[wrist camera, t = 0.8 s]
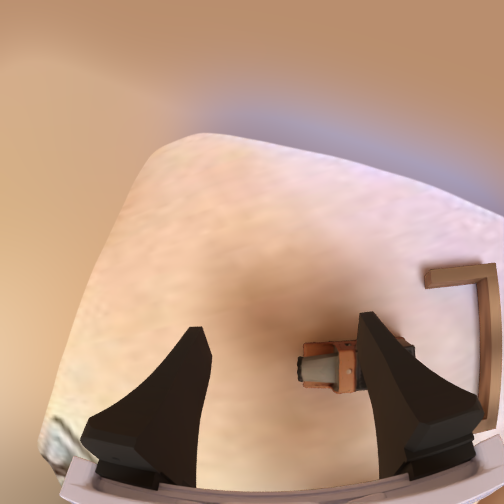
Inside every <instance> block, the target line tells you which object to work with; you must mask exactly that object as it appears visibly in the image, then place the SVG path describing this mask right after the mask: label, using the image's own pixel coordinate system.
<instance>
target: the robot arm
mask: <svg viewBox="0 0 504 504" xmlns="http://www.w3.org/2000/svg"><path fill="white" fill-rule="evenodd" d="M356 345H357V351H358V356H359V362H360V366H361V369H362V373H363V376H364V379H365V383H366V386H367V389H368V393H369V396H370V400H371V404H372V408H373V414H374V420H375V427H376V436H377V445H378V457H379V480H375V481H370V482H365V483H359V484H353V485H347V486H340V487H332V488H323V489H313V490H301V491H281V492H242V491H223V490H210V489H200V488H196V463H197V446H198V434H199V425H200V418H201V413H202V408H203V404H204V400H205V396H206V392H207V387H208V383H209V379H210V374H211V364H212V354H211V351H210V348H209V345H208V342H207V339H206V337H205V334H204V331H203V328H202V327H189V329H188V330H187V331H186V332H185V334H184V335H183V336H182V338H181V339H180V340H179V342H178V343H177V344H176V346H175V347H174V348H173V349H172V351H171V352H170V353H169V354H168V356H167V357H166V358H165V359H164V360H163V362H162V363H161V364H160V365H159V366H158V367H157V368H156V369H155V371H154V372H153V373H152V374H151V375H150V376H149V377H148V378H147V379H146V380H145V381H144V382H143V383H141V384H140V385H139V386H138V387H137V388H136V389H134V390H133V391H132V392H131V393H129V394H128V395H127V396H125V397H124V398H123V399H121V400H120V401H118V402H117V403H115V404H114V405H112V406H111V407H109V408H107V409H105V410H104V411H102V412H100V413H98V414H96V415H94V416H92V417H90V418H89V419H88V422H87V424H86V426H85V429H84V431H83V433H82V436H81V438H80V441H81V443H82V445H83V446H84V447H85V448H86V449H87V450H89V451H90V452H91V453H92V454H93V455H95V456H96V457H97V458H98V459H99V462H98V464H96V463H94V462H92V461H89V460H86V459H83V458H80V457H77V456H73V459H72V461H71V464H70V467H69V469H68V472H67V475H66V477H65V480H64V483H63V486H62V489H61V491H60V494H59V495H60V497H62V498H64V499H65V500H68V501H69V502H71V503H73V504H472V503H474V502H476V501H478V500H480V499H482V498H484V497H486V496H488V495H490V494H491V493H493V492H494V491H496V490H497V489H499V488H500V487H502V486H503V485H504V445H503V442H502V440H501V437H500V435H499V434H497V435H495V436H493V437H491V438H489V439H486V440H484V441H482V442H480V443H478V444H476V445H475V446H473V443H472V441H473V440H474V435H473V433H472V432H473V430H474V429H475V428H476V427H477V426H478V424H479V423H480V422H481V420H482V419H483V417H484V410H483V408H482V405H481V403H480V401H479V399H478V398H477V396H476V395H475V394H472V393H470V392H468V391H466V390H463V389H461V388H459V387H457V386H455V385H454V384H452V383H450V382H448V381H446V380H445V379H443V378H442V377H440V376H439V375H437V374H436V373H434V372H433V371H431V370H430V369H429V368H427V367H426V366H425V365H423V364H422V363H421V362H420V361H419V360H417V359H416V358H415V357H414V356H413V355H412V354H411V353H410V352H409V351H408V350H407V349H406V348H405V347H404V346H403V345H402V344H401V343H400V342H399V341H398V340H397V339H396V338H395V337H394V336H393V335H392V334H391V332H390V331H389V330H388V329H387V328H386V327H385V325H384V324H383V323H382V322H381V321H380V319H379V318H378V317H377V316H376V314H375V313H374V312H373V311H372V312H364V313H360V315H359V325H358V335H357V344H356Z"/></svg>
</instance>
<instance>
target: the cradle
mask: <svg viewBox="0 0 504 504" xmlns="http://www.w3.org/2000/svg"><path fill="white" fill-rule="evenodd" d="M424 279H425V289H431V288H440V287H449V286H458V285H466V284H475V283H477V293H478V305H479V321H480V378H479V393H478V399H479V401H480V403H481V405H482V408H483V410H484V417H483V419H482V420H481V422H480V423H479V424H478V426H477V427H476V428H475V429H474V430H473V432H472V433H473V434H476V433H480V432H484V431H488V430H492V429H496V424H497V417H498V409H499V400H500V389H501V373H502V322H501V306H500V294H499V285H498V277H497V269H496V263H488V264H480V265H471V266H462V267H452V268H442V269H432V270H430V271H429V272H428V273H427V274H426V275H425V277H424Z"/></svg>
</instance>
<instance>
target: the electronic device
mask: <svg viewBox="0 0 504 504" xmlns="http://www.w3.org/2000/svg"><path fill="white" fill-rule="evenodd" d="M396 339H397V340H398V341H399V342H400V343H401V344H402V345H403V346H404V347H405V348H406V349H407V350H408V351H409V352H410V353H411V354H412V355H413V356H414V357H415V347H414V345H411V344H410V343H408V342H407V341H406V340H405V339H404V338H403V337H396ZM356 344H357V340H352V341H338V342H332V341H329V342H321V343H316V342H313V343H304V345H303V348H304V357H301V356H299V357H298V362H297V366H298V370H297V374H298V381H300V382H303V381H304V383H303V387H305V388H331V389H333V391H334V392H335V393H338V394H341V393H352V392H356V391H359V390H368V389H367V386H366V383H365V379H364V376H363V373H362V369H361V366H360V362H359V356H358V351H357V345H356Z"/></svg>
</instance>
